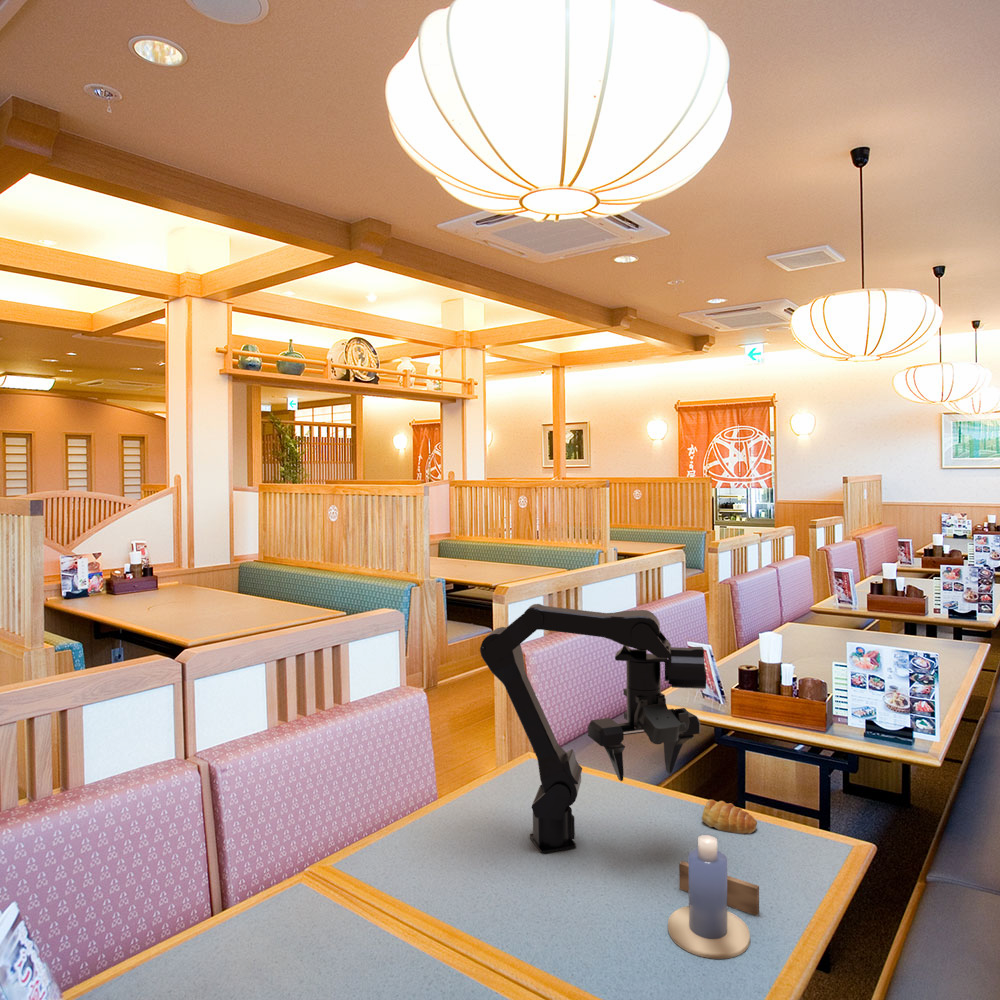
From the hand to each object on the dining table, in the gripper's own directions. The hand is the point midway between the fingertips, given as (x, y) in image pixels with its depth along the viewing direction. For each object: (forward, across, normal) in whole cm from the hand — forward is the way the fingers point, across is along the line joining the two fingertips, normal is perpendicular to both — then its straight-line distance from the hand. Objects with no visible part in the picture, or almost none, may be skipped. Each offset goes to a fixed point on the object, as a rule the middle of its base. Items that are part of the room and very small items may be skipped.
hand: (645, 776), depth 125 cm
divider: (+13, +3, -16) cm, 21 cm away
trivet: (+13, -3, -23) cm, 27 cm away
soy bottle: (+12, -3, -23) cm, 26 cm away
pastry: (+14, +19, +4) cm, 24 cm away
